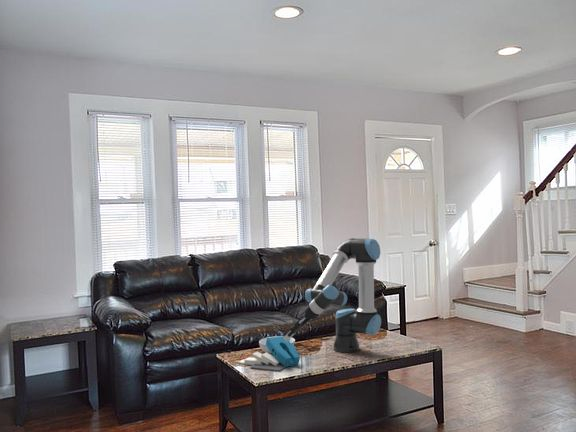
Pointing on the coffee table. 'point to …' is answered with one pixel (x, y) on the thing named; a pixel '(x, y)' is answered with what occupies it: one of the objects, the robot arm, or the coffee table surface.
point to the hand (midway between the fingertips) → (285, 339)
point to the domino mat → (268, 367)
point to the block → (283, 351)
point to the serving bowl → (265, 348)
